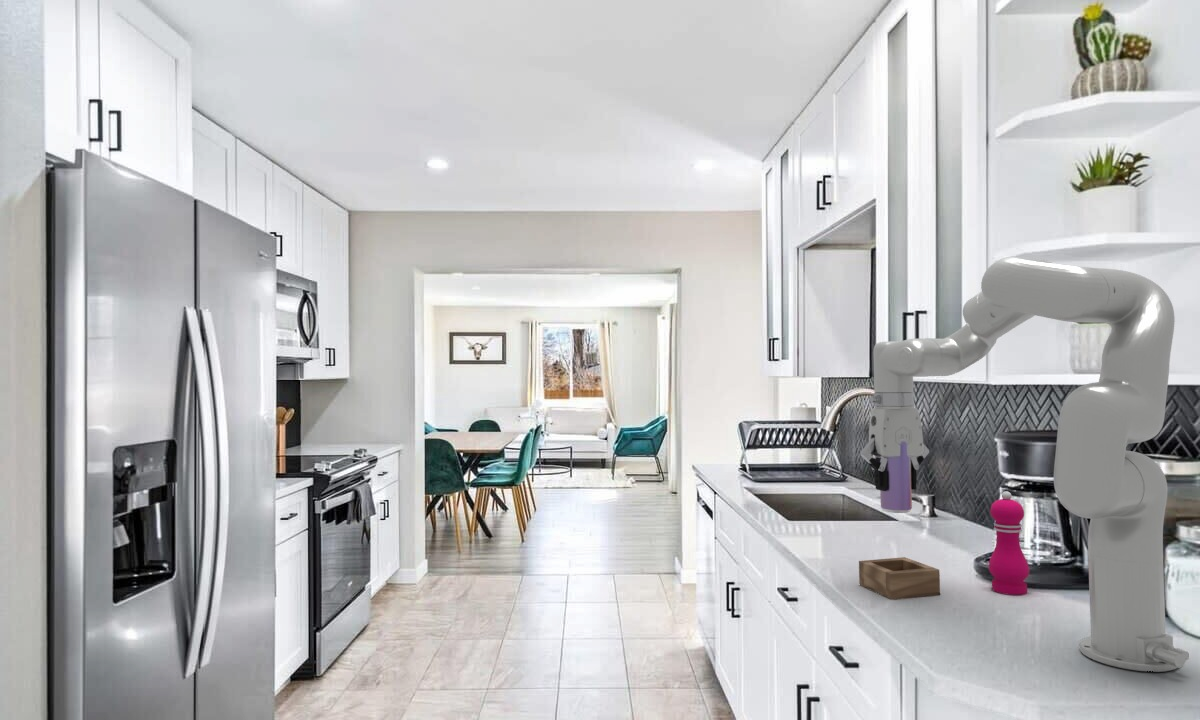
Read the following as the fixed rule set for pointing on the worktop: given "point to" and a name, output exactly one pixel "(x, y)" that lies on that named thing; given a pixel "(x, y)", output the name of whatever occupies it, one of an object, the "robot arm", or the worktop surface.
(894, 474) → the beverage can
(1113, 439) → the robot arm
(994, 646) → the worktop surface
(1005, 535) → the pepper mill
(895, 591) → the holder
